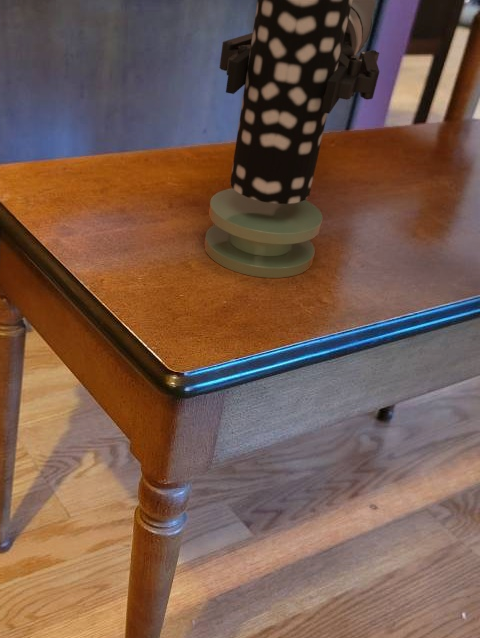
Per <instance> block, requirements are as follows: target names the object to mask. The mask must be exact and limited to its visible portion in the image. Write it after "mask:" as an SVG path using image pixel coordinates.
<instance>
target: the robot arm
mask: <svg viewBox="0 0 480 638" xmlns="http://www.w3.org/2000/svg"><path fill="white" fill-rule="evenodd" d="M375 5H376V0H352V5H351V9H350V14H349V18H348V23H347V27H346V32H345V36H344V41H343V45H342V50H341V54H340V59H339V63H338V68H337V70H336V71H335V72H334V73H333V75H332V76H331V77H330V78H329V80H328V82H327V87H326V91H325V96H324V100H323V105H322V110H321V112H323V113H327V115H329V114H330V113H331V112H332V110H333V109H334V107H335V106H336V104H337V103H338V102H339V100H346V101H347V100H350V99H351V98H352V97H354V96H355V93H359V95H360V97H361V98H363V99H364V100H372V99H373V98H374V95H375V91H376V88H377V84H378V80H379V76H380V69H379V65H378V60H379V56H380V52H378V51H377V50H375V49H371V50H368V51H362V49H363V48H364V47H365V44H366V43H367V42H368V41H369V38H370V35H371V32H372V28H373V23H374V19H373V12H374V10H375ZM252 35H253V32H250V33H247V34H244V35H240V36H237V37H234V38H231V39H228V40H224V41H222V45H221V46H222V47H221V52H220V53H221V54H220V62H219V69H220V70H221V71H224V72H226V76H227V82H226V87H225V93H226V94H232V95H234V94H236V93H237V92H238V91H239V90H240V89H242V88H243V87H245V81H246V75H247V68H248V62H249V55H250V49H251V42H252ZM358 54H359V55H358Z"/></svg>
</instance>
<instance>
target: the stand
mask: <svg viewBox="0 0 480 638" xmlns="http://www.w3.org/2000/svg"><path fill="white" fill-rule="evenodd" d="M208 217H209V219H210V220H211V222H212V223H213V225H211V226H209V228H208V229H207V230H206V232H205V236H204V244H203V245H204V251H205V253H206V255H207V256H208V257H209V258H210V260H212V261H214V262H215V263H216V264H218V265H219V266H222V267H223V268H226V269H228V270H230V271H232V272H236V273H239V274H241V275H245V276H246V275H247V276H251V277H256V278H263V279H265V278H266V279H283V278H290V277H294V276H298V275H300V274H303V273H306V272H307V271H308V270H309V269H310V268H311V266H312V264H313V262H314V258H315V254H316V253H315V252H316V250H315V246H314V243H313V242H312V241H311V240H312V239H314V238H315V237H317V236H318V234H319V233H320V232H321V228H322V224H323V219H324V218H323V213H322V212H321V210H320V209H319V208H318V207H317V206H316V205H315V204H313V203H312V202H310V201H308V200H306V199H305V200H303V201H301V202H297V203H290V204H276V203H268V202H262V201H258V200H254V199H251V198H248V197H246V196H244V195H242V194H240V193H238V192H237V191H235V190H234V189H233V188H232V187H231V188H227V189H223V190H220V191H218V192H216V193H214V195H213V196H212V197H211V198H210V200H209V206H208Z"/></svg>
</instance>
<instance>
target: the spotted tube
mask: <svg viewBox="0 0 480 638" xmlns="http://www.w3.org/2000/svg"><path fill="white" fill-rule="evenodd" d="M351 5H352V0H257V3H256V8H255V9H256V11H255V16H254V24H253V28H252V29H253V30H252V33H253V35H252V42H251V49H250V55H249V62H248V68H247V75H246V81H245V85H244V89H243V96H242V103H241V107H240V114H239V115H240V116H239V121H238V122H239V123H238V127H237V135H236V140H235V148H234V155H233V161H232V167H231V174H230V179H229V184H230V187H231V188H233V189H234V190H235V191H237V192H238V193H240V194H242V195H244V196H246V197H248V198H251V199H254V200H258V201H262V202H268V203H276V204H290V203H297V202H301V201H303V200H306V199H308V198H309V196H310V193H311V190H312V184H313V181H314V176H315V172H316V167H317V163H318V157H319V153H320V148H321V145H322V140H323V135H324V131H325V128H326V127H325V125H326V122H327V118H328V113H323V112H321V110H322V105H323V100H324V96H325V91H326V87H327V82H328V80H329V78H330V77H331V76H332V75H333V73H334V72H335V71H336V70H337V68H338V63H339V59H340V54H341V50H342V45H343V41H344V36H345V32H346V27H347V23H348V18H349V14H350V9H351Z"/></svg>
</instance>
